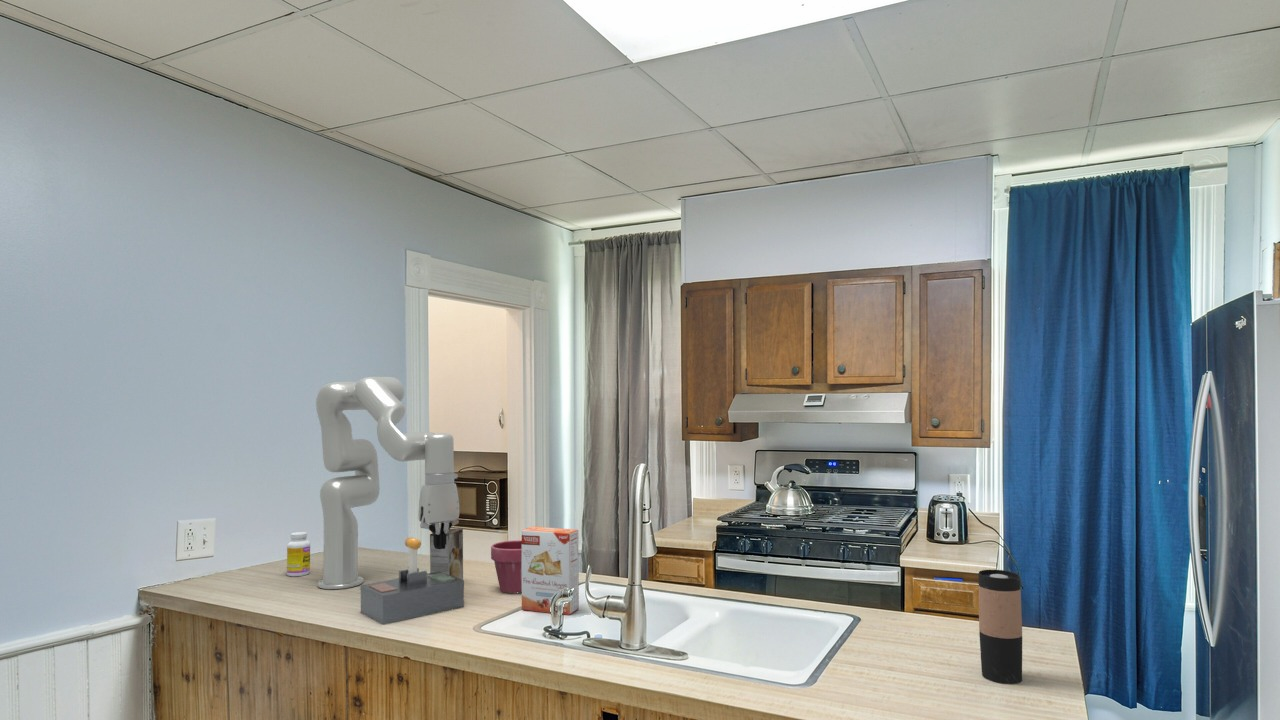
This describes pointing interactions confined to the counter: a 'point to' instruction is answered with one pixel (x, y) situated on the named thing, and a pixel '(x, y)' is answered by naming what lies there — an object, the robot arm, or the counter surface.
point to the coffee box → (448, 554)
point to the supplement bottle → (298, 555)
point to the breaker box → (411, 596)
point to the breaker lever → (412, 553)
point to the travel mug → (1000, 626)
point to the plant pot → (508, 565)
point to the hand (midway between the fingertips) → (440, 548)
